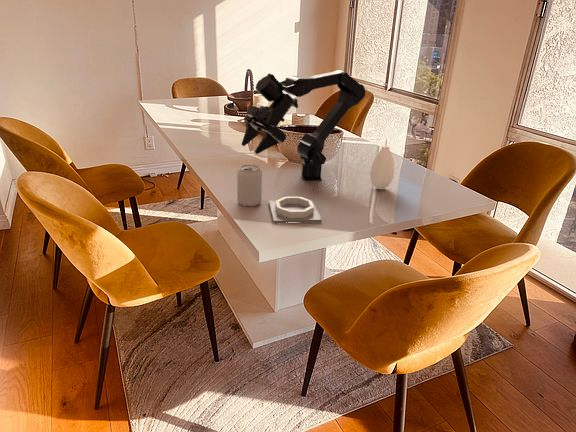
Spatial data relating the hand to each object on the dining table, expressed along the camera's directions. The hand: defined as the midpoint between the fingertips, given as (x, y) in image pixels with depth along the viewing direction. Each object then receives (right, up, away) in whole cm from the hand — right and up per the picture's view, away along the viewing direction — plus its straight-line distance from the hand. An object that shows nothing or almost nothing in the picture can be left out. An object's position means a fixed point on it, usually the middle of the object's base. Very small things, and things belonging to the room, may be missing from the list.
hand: (249, 149), depth 145 cm
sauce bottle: (+45, -12, +11) cm, 48 cm away
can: (0, -18, -4) cm, 18 cm away
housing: (+14, -21, -9) cm, 27 cm away
